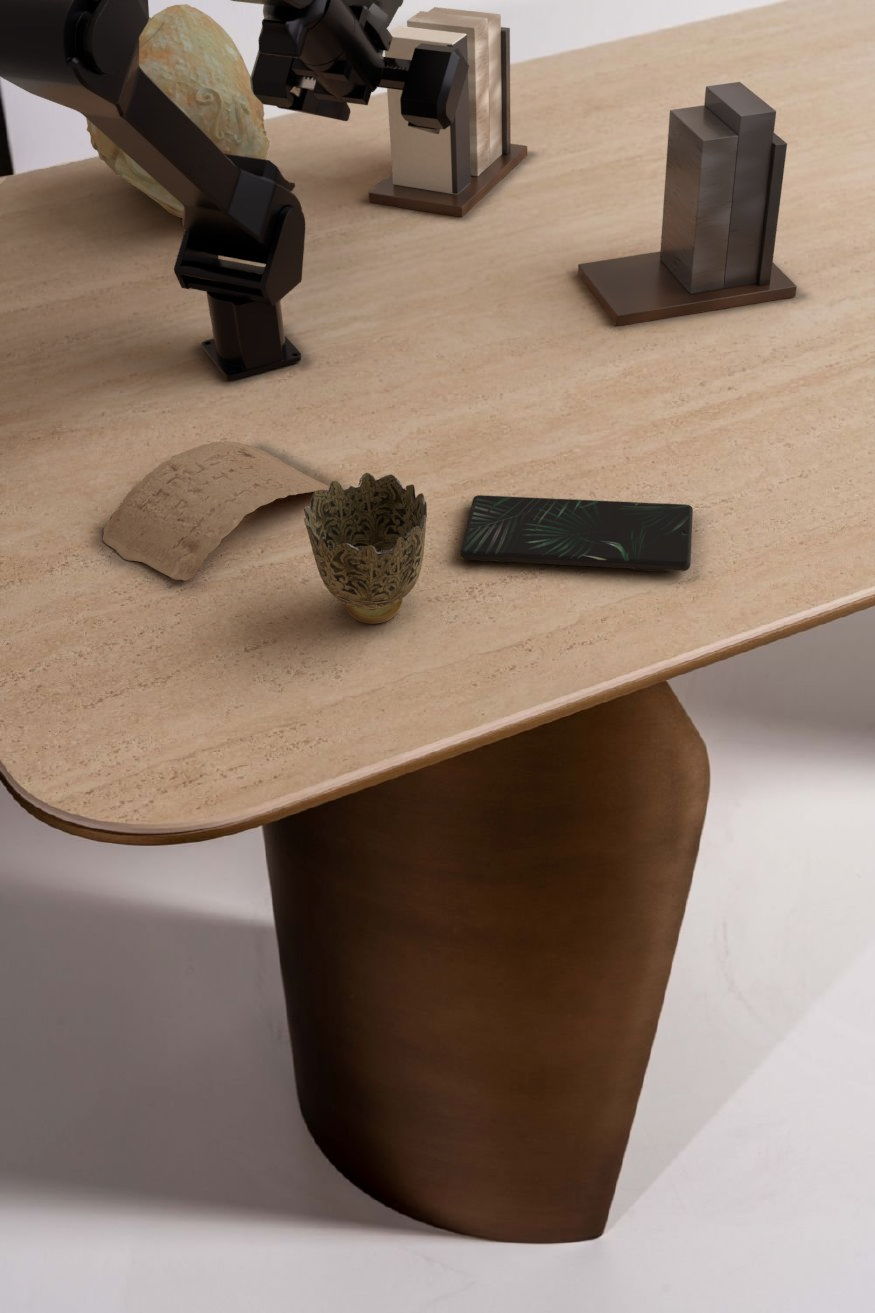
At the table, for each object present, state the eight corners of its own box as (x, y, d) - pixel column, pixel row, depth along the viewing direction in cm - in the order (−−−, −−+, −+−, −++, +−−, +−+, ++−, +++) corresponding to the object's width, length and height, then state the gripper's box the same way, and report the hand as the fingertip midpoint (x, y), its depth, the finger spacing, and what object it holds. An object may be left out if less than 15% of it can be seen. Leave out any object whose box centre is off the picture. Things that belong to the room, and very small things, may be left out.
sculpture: (46, 226, 139) (143, 201, 124) (44, 11, 137) (143, -41, 121) (201, 247, 150) (308, 226, 135) (202, 49, 148) (311, 5, 132)
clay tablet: (189, 591, 92) (183, 558, 91) (93, 534, 98) (85, 502, 96) (344, 492, 100) (340, 460, 99) (247, 445, 106) (242, 413, 104)
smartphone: (473, 493, 98) (693, 503, 96) (473, 505, 99) (692, 515, 96) (458, 552, 93) (690, 564, 91) (459, 564, 94) (689, 576, 91)
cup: (330, 658, 87) (318, 554, 82) (304, 588, 92) (291, 486, 87) (446, 633, 88) (441, 528, 83) (415, 565, 94) (408, 463, 88)
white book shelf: (462, 217, 134) (457, 53, 124) (368, 202, 138) (357, 42, 128) (527, 155, 145) (527, 0, 135) (439, 142, 149) (433, -10, 139)
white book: (457, 195, 136) (452, 43, 127) (392, 184, 138) (383, 35, 129) (471, 183, 138) (467, 33, 129) (406, 172, 140) (398, 25, 131)
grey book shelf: (616, 326, 117) (625, 140, 107) (577, 274, 124) (582, 95, 114) (795, 296, 120) (821, 112, 110) (747, 247, 127) (766, 70, 117)
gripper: (456, -56, 110) (512, 47, 125) (250, -74, 116) (327, 26, 131) (416, 81, 110) (477, 168, 124) (212, 55, 116) (293, 141, 131)
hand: (392, 121), depth 128 cm, fingers open, 9 cm apart
